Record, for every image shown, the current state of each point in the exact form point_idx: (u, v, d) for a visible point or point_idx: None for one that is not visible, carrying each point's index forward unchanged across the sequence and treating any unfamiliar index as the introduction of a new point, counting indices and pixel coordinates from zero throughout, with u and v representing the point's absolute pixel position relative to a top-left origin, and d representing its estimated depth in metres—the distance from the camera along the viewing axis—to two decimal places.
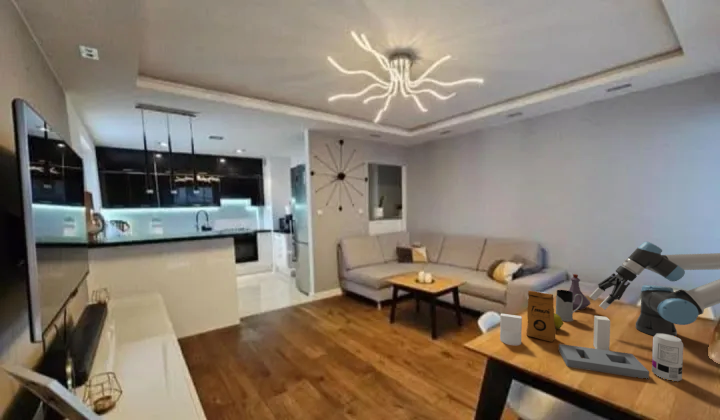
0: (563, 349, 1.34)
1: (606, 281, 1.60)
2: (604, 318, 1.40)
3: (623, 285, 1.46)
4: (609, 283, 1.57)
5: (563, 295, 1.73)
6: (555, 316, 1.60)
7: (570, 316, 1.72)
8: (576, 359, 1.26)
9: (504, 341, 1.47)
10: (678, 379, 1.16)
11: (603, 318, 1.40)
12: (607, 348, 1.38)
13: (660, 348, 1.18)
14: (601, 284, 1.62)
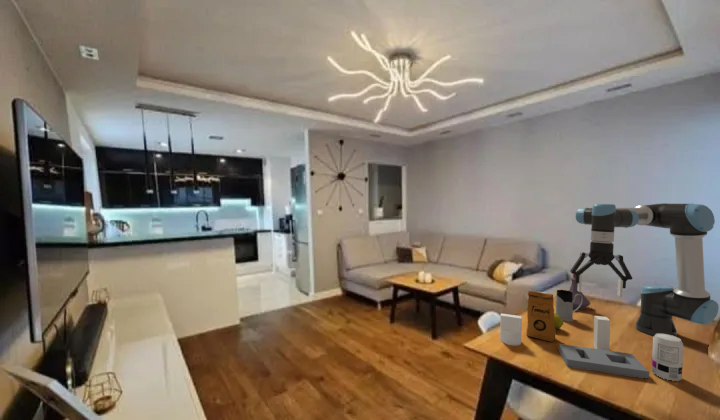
0: (563, 349, 1.34)
1: (579, 264, 1.31)
2: (604, 318, 1.40)
3: None
4: None
5: (563, 295, 1.73)
6: (555, 316, 1.60)
7: (570, 316, 1.72)
8: (576, 359, 1.26)
9: (504, 341, 1.47)
10: (678, 379, 1.16)
11: (603, 318, 1.40)
12: (607, 348, 1.38)
13: (660, 348, 1.18)
14: (575, 270, 1.32)
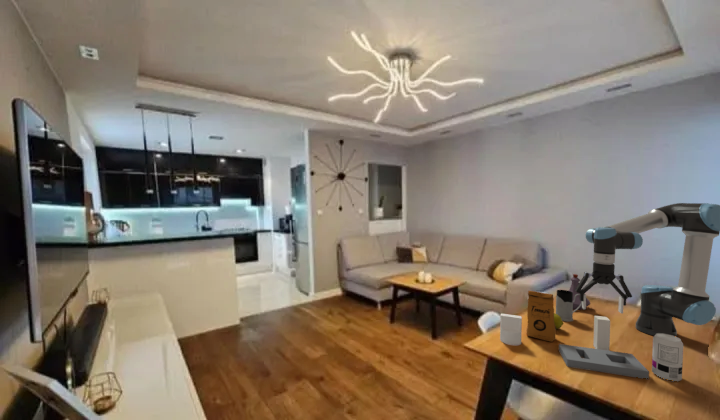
0: (563, 349, 1.34)
1: None
2: (604, 318, 1.40)
3: None
4: None
5: (563, 295, 1.73)
6: (555, 316, 1.60)
7: (570, 316, 1.72)
8: (576, 359, 1.26)
9: (504, 341, 1.47)
10: (678, 379, 1.16)
11: (603, 318, 1.40)
12: (607, 348, 1.38)
13: (660, 348, 1.18)
14: (580, 289, 1.42)
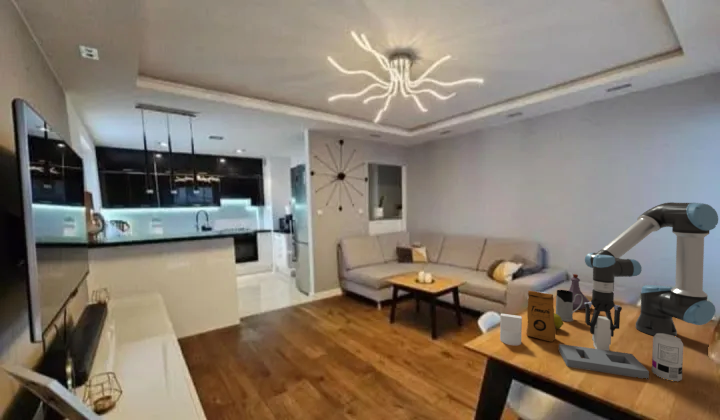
0: (563, 349, 1.34)
1: (589, 315, 1.41)
2: (604, 318, 1.40)
3: None
4: None
5: (563, 295, 1.73)
6: (555, 316, 1.60)
7: (570, 316, 1.72)
8: (576, 359, 1.26)
9: (504, 341, 1.47)
10: (678, 379, 1.16)
11: (603, 318, 1.40)
12: (607, 348, 1.38)
13: (660, 348, 1.18)
14: (589, 321, 1.41)
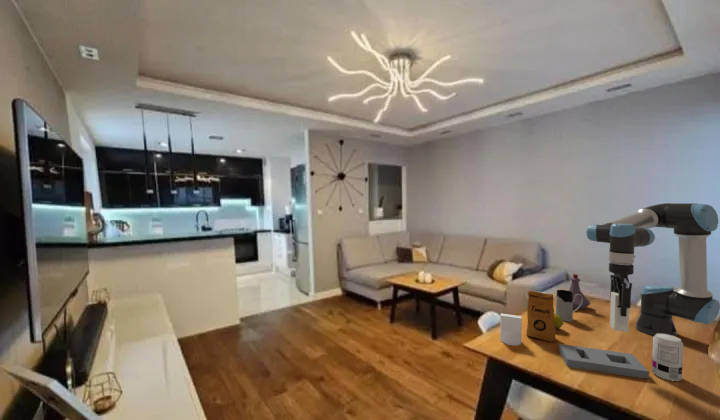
0: (563, 349, 1.34)
1: None
2: None
3: None
4: None
5: (563, 295, 1.73)
6: (555, 316, 1.60)
7: (570, 316, 1.72)
8: (576, 359, 1.26)
9: (504, 341, 1.47)
10: (678, 379, 1.16)
11: None
12: None
13: (660, 348, 1.18)
14: None
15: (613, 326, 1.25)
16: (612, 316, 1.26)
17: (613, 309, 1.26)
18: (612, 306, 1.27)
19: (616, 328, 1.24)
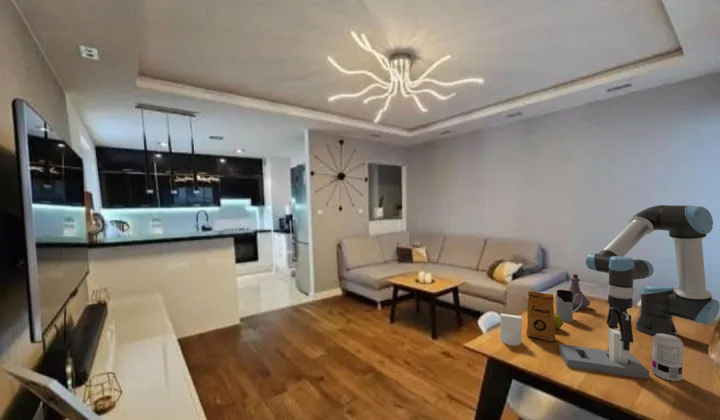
0: (563, 349, 1.34)
1: None
2: (618, 331, 1.27)
3: None
4: None
5: (563, 295, 1.73)
6: (555, 316, 1.60)
7: (570, 316, 1.72)
8: (576, 359, 1.26)
9: (504, 341, 1.47)
10: (678, 379, 1.16)
11: (619, 331, 1.26)
12: None
13: (660, 348, 1.18)
14: None
15: None
16: (611, 353, 1.27)
17: (612, 347, 1.26)
18: (611, 344, 1.27)
19: None
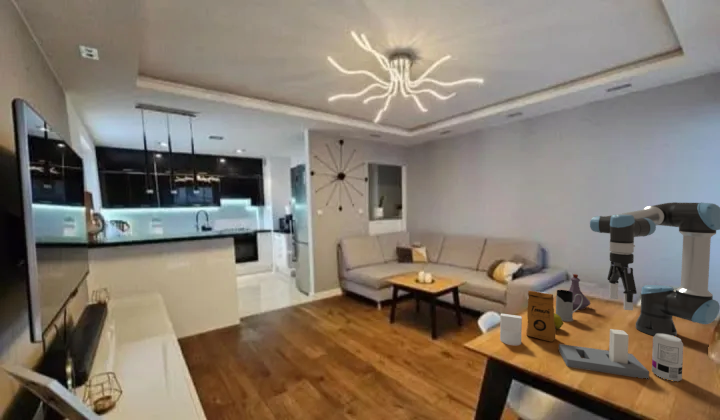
0: (563, 349, 1.34)
1: None
2: (618, 331, 1.27)
3: None
4: None
5: (563, 295, 1.73)
6: (555, 316, 1.60)
7: (570, 316, 1.72)
8: (576, 359, 1.26)
9: (504, 341, 1.47)
10: (678, 379, 1.16)
11: (619, 331, 1.26)
12: None
13: (660, 348, 1.18)
14: None
15: None
16: (611, 353, 1.27)
17: (612, 347, 1.26)
18: (611, 344, 1.27)
19: None
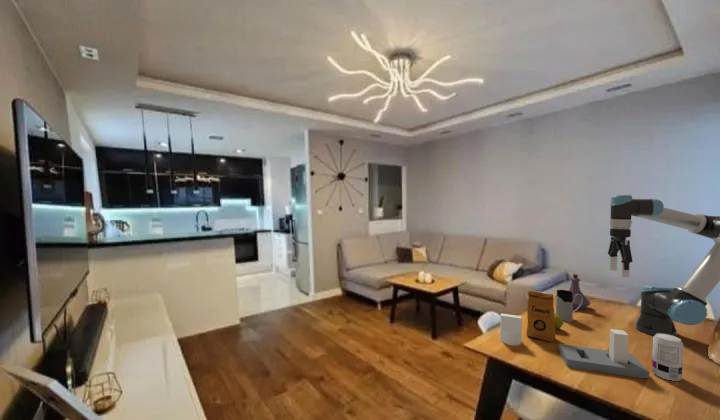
0: (563, 349, 1.34)
1: None
2: (618, 331, 1.27)
3: None
4: None
5: (563, 295, 1.73)
6: (555, 316, 1.60)
7: (570, 316, 1.72)
8: (576, 359, 1.26)
9: (504, 341, 1.47)
10: (678, 379, 1.16)
11: (619, 331, 1.26)
12: None
13: (660, 348, 1.18)
14: None
15: None
16: (611, 354, 1.27)
17: (612, 347, 1.26)
18: (611, 344, 1.27)
19: None
